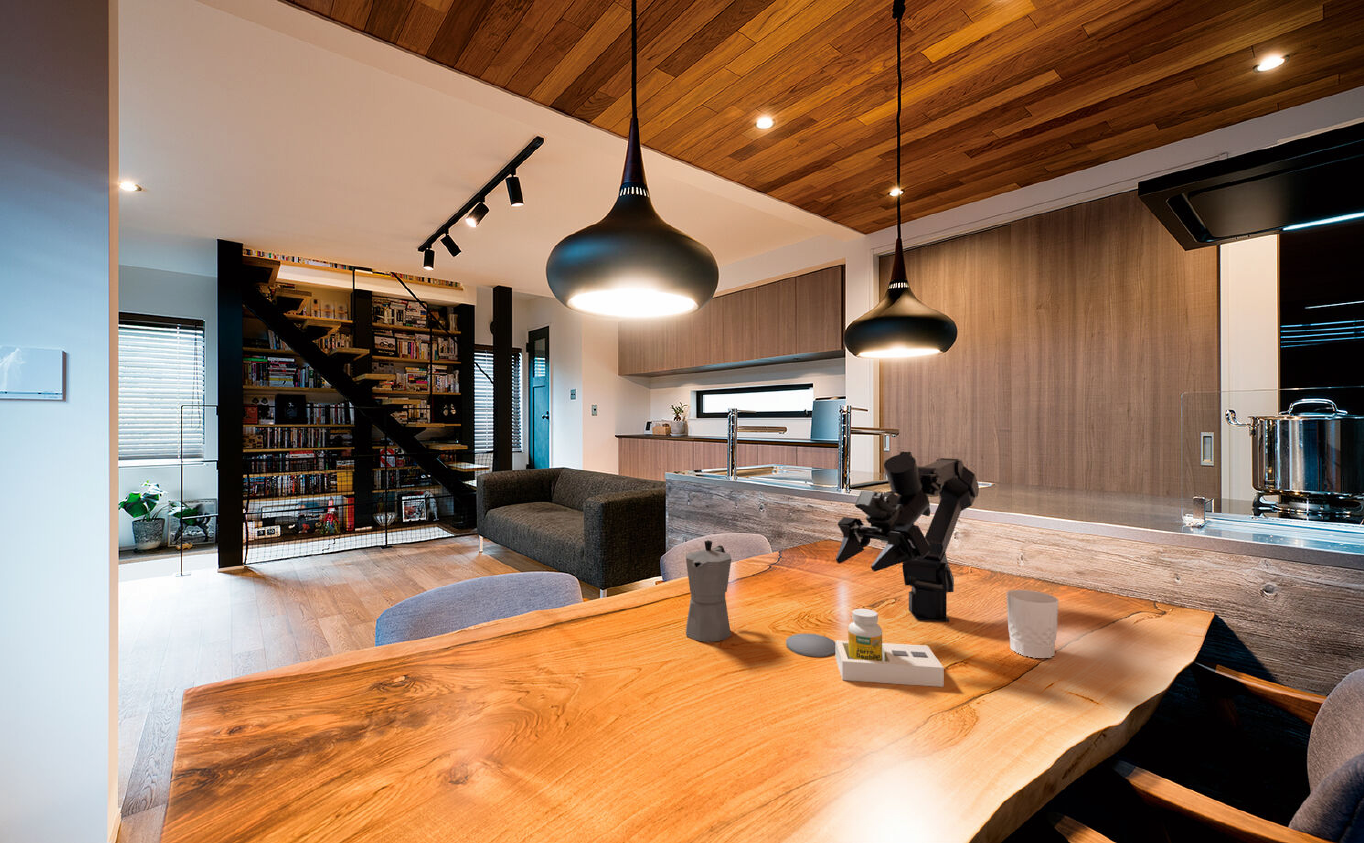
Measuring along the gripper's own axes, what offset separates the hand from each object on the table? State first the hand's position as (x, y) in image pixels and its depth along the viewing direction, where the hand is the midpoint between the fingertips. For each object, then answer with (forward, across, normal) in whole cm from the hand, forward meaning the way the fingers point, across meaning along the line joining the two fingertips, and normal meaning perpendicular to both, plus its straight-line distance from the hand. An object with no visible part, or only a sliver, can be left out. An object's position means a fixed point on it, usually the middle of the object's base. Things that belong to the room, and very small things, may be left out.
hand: (854, 565), depth 102 cm
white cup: (-13, +14, +29) cm, 35 cm away
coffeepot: (+25, -18, -1) cm, 31 cm away
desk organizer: (+11, +9, +11) cm, 18 cm away
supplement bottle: (+13, +7, +10) cm, 18 cm away
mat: (+14, -4, +8) cm, 17 cm away
